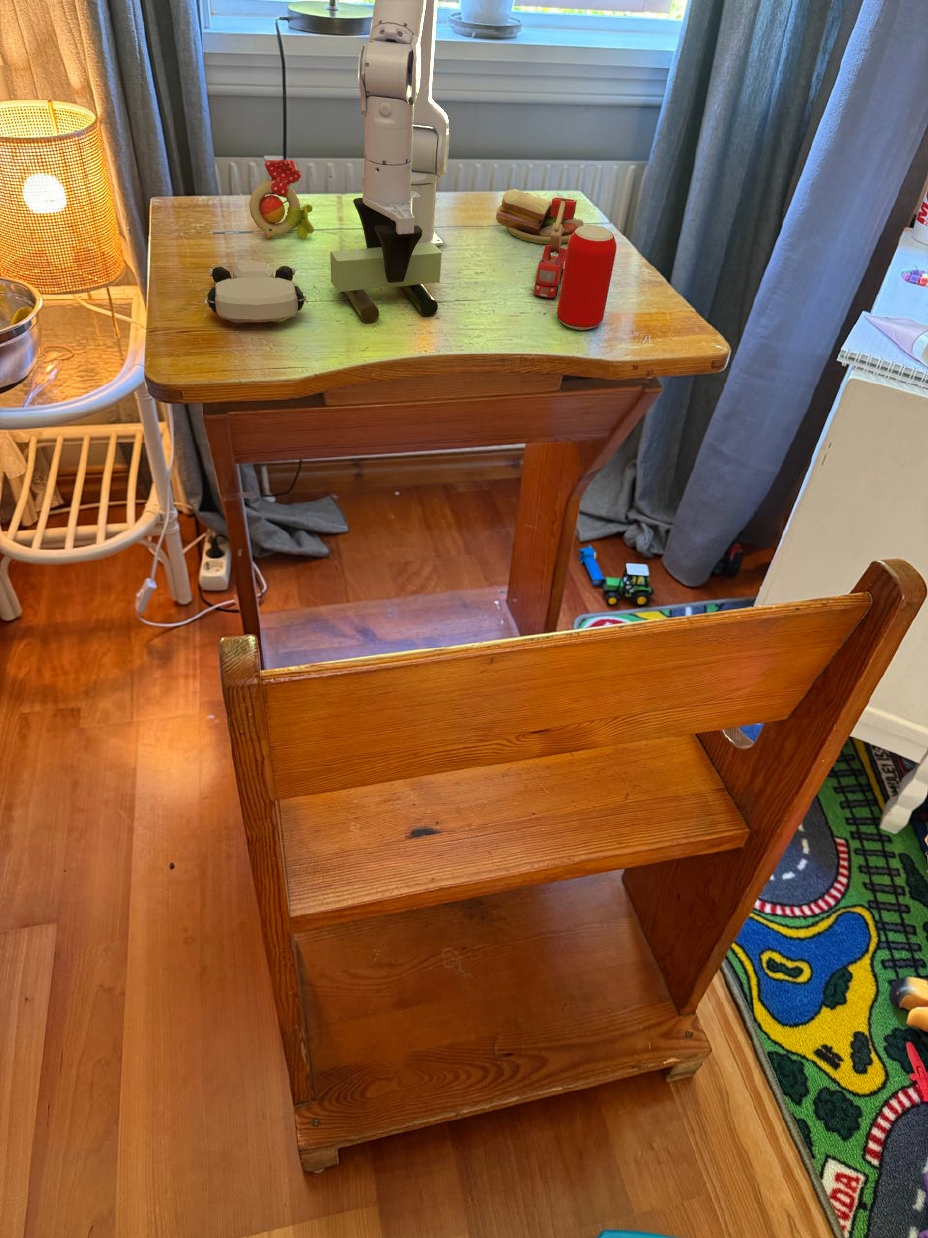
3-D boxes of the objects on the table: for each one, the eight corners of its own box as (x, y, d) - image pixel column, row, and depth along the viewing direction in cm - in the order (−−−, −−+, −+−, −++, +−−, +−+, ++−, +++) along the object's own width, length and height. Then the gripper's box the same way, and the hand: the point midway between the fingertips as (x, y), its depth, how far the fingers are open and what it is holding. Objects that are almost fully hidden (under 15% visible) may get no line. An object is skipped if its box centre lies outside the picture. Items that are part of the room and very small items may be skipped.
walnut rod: (335, 283, 124) (334, 266, 123) (352, 282, 125) (352, 264, 124) (361, 323, 117) (361, 305, 115) (379, 322, 117) (379, 304, 116)
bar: (337, 291, 117) (337, 261, 114) (330, 281, 119) (330, 250, 117) (439, 282, 122) (441, 252, 119) (431, 272, 124) (433, 242, 121)
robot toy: (206, 290, 122) (208, 335, 111) (202, 255, 119) (203, 298, 108) (300, 288, 124) (310, 333, 113) (298, 254, 121) (308, 296, 110)
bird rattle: (276, 260, 133) (330, 230, 134) (239, 189, 125) (297, 157, 125) (265, 243, 137) (317, 214, 138) (228, 174, 129) (284, 143, 129)
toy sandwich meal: (568, 253, 138) (573, 221, 135) (485, 234, 141) (487, 202, 138) (590, 226, 147) (595, 195, 144) (511, 208, 150) (514, 178, 146)
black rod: (391, 278, 127) (391, 261, 125) (407, 277, 128) (408, 260, 126) (420, 317, 119) (421, 299, 117) (437, 315, 120) (438, 298, 118)
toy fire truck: (531, 298, 126) (541, 226, 119) (545, 259, 136) (554, 191, 129) (555, 302, 126) (566, 230, 119) (567, 263, 135) (578, 195, 129)
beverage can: (547, 323, 121) (560, 231, 113) (570, 307, 125) (585, 217, 116) (587, 338, 119) (604, 245, 110) (609, 322, 122) (627, 231, 114)
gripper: (440, 176, 106) (434, 289, 116) (400, 136, 116) (397, 244, 125) (382, 179, 104) (380, 294, 114) (346, 138, 114) (347, 247, 123)
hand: (386, 268), depth 119 cm, fingers open, 7 cm apart
